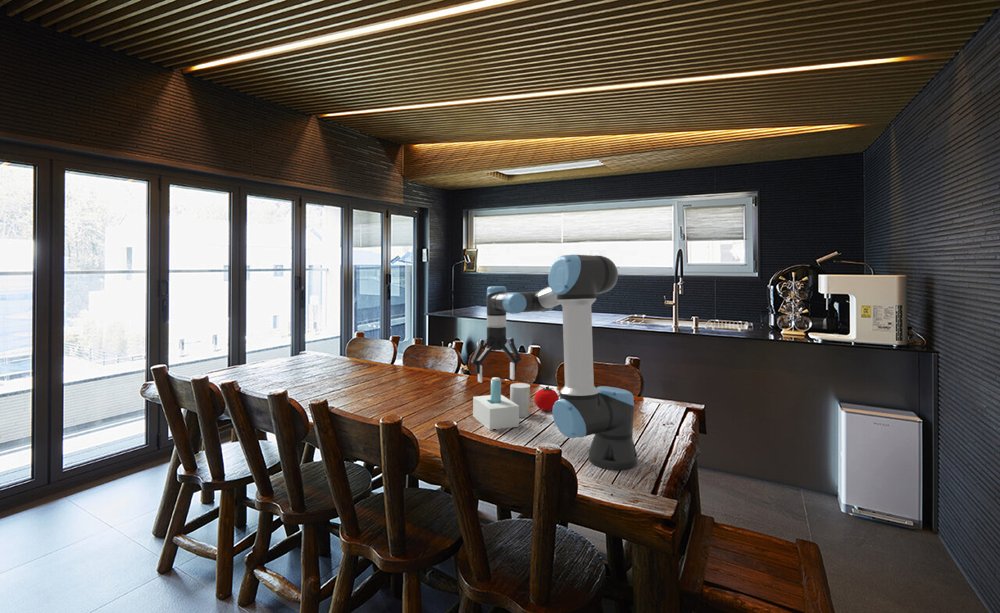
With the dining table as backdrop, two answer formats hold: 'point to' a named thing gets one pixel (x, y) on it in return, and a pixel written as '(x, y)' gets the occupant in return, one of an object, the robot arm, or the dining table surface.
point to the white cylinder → (521, 397)
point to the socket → (496, 412)
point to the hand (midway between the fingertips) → (496, 380)
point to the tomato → (546, 398)
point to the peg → (495, 390)
